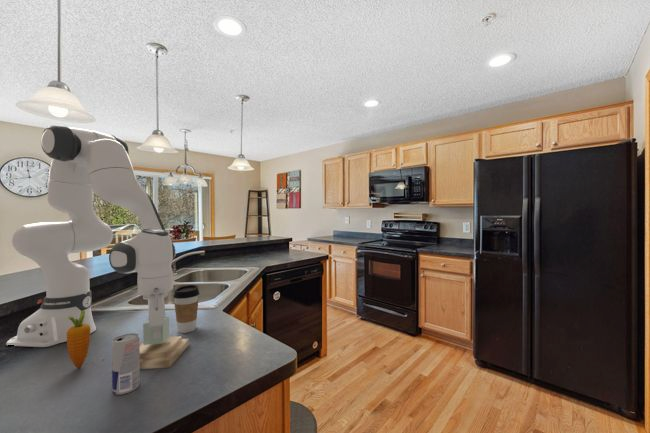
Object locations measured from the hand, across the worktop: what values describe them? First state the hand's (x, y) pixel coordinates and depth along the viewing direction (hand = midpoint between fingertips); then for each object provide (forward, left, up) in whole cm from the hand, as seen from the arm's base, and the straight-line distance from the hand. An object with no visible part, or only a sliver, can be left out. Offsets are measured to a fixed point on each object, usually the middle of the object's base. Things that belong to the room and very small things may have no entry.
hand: (156, 332), depth 81 cm
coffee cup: (+1, +19, -7) cm, 20 cm away
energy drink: (0, -15, -7) cm, 16 cm away
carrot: (-18, -4, -7) cm, 20 cm away
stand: (0, 0, -7) cm, 7 cm away
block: (0, 0, -2) cm, 2 cm away
